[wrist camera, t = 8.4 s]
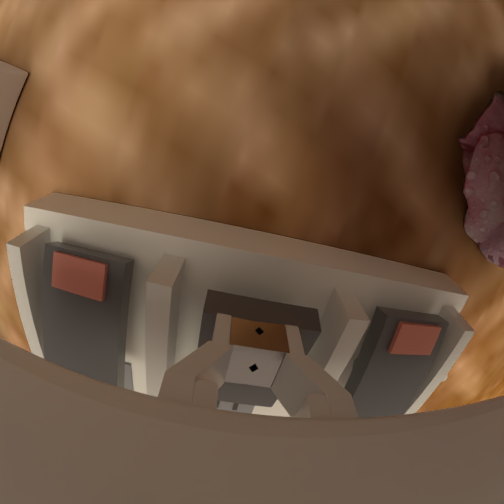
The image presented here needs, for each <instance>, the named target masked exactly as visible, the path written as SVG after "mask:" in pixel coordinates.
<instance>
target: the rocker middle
mask: <svg viewBox="0 0 504 504" xmlns="http://www.w3.org/2000/svg"><path fill="white" fill-rule="evenodd" d="M217 313H222V314H227V315H231V316H237V317H242V318H247V319H252V320H257V321H262V322H268V323H275V324H281V325H292V326H297V327H298V328H299V331H300V335H301V340H302V344H303V348H304V353H305V355H307V354H308V353H309V351H310V350H311V348H312V346H313V345H314V343H315V342H316V340H317V338H318V337H319V335H320V333H321V325H320V319H319V313H318V309H315V308H309V307H303V306H297V305H291V304H285V303H279V302H273V301H268V300H262V299H257V298H251V297H246V296H240V295H235V294H230V293H225V292H220V291H215V290H210V289H208V291H207V295H206V300H205V304H204V309H203V314H202V321H201V328H200V335H199V342H198V348H199V347H201V346H202V345H203V344H205V343H206V342H208V341H212V336H213V331H214V326H215V322H216V317H217ZM217 400H218V401H224V402H231V403H238V404H246V405H254V406H263V407H272V406H273V405H274V403H275V402H276V400H277V397H276V396H275V394H274V393H273V392H272V390H271V388H268V387H261V386H254V385H248V384H239V383H231V382H224V384H223V385H222V386H221V387H220V388H219V389H218V397H217Z"/></svg>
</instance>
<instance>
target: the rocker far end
mask: <svg viewBox="0 0 504 504" xmlns="http://www.w3.org/2000/svg"><path fill="white" fill-rule="evenodd" d="M133 267H134V259H129V258H125V257H121V256H116V255H112V254H108V253H104V252H99V251H95V250H91V249H87V248H83V247H79V246H75V245H71V244H67V243H63V242H59V241H57V242H50V243H45V249H44V261H43V279H42V329H43V346H44V358H45V359H46V360H48V361H50V362H53V363H55V364H57V365H60V366H62V367H65V368H67V369H70V370H72V371H75V372H78V373H80V374H83V375H86V376H89V377H91V378H94V379H97V380H100V381H103V382H106V383H109V384H112V385H116V386H119V387H122V388H124V378H125V351H126V335H127V321H128V310H129V300H130V291H131V283H132V275H133Z"/></svg>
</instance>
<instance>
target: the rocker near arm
mask: <svg viewBox="0 0 504 504" xmlns="http://www.w3.org/2000/svg"><path fill="white" fill-rule="evenodd" d="M448 326H449V322H447V321H446V320H445V319H443V318H442V317H440V316H439V315H436V314H428V313H421V312H414V311H407V310H400V309H393V308H386V307H379V306H377V307H376V310H375V313H374V316H373V318H372V321H371V324H370V327H369V329H368V332H367V335H366V337H365V340H364V342H363V345H362V348H361V350H360V352H359V355H358V357H357V358H356V359H355V360H354V362H353V367H352V371H351V374H350V376H349V378H348V380H347V383H346V385H345V387H344V388H345V389H346V390H347V391H348V392H349V393H350V394H351V395H352V399H353V402H354V405H355V408H356V411H357V414H358V418H366V417H382V416H394V415H404V414H405V412H406V410H407V409H408V407H409V405H410V404H411V402H412V400H413V398H414V397H415V395H416V393H417V391H418V389H419V388H420V386H421V384H422V382H423V380H424V378H425V376H426V374H427V372H428V370H429V368H430V366H431V364H432V362H433V360H434V358H435V356H436V354H437V351H438V349H439V347H440V345H441V342H442V340H443V338H444V335H445V333H446V331H447V328H448Z"/></svg>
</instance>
